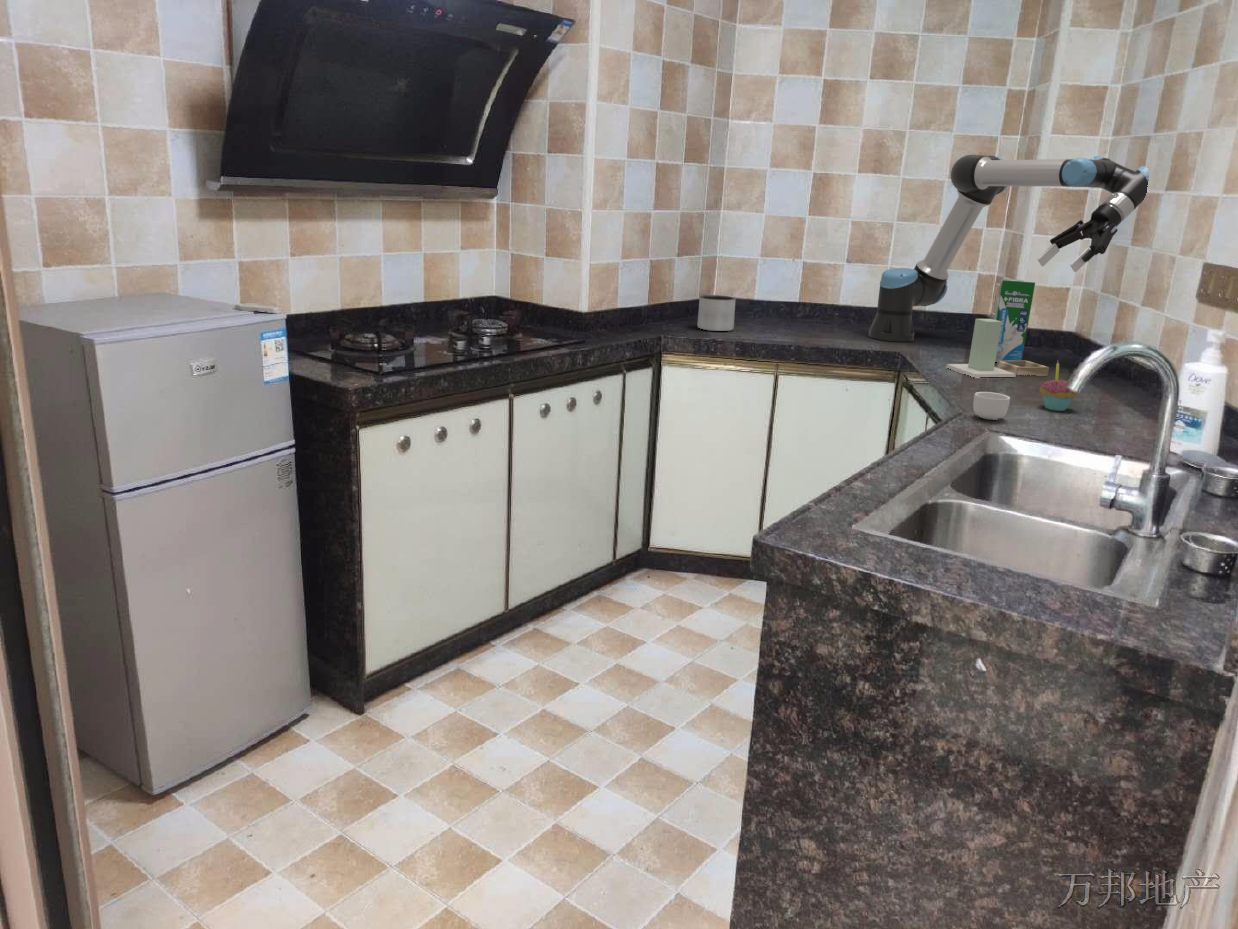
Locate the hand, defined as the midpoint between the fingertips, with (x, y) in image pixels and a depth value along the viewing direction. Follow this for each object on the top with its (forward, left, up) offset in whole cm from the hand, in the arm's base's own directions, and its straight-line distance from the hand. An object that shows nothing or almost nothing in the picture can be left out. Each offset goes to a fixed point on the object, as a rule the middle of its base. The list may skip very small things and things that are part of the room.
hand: (1056, 265), depth 263 cm
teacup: (+47, -51, -31) cm, 77 cm away
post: (0, -20, -29) cm, 35 cm away
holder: (0, -6, -31) cm, 31 cm away
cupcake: (+41, -28, -31) cm, 59 cm away
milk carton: (-16, 0, -31) cm, 35 cm away
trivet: (0, -20, -31) cm, 36 cm away
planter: (-75, -73, -31) cm, 109 cm away
